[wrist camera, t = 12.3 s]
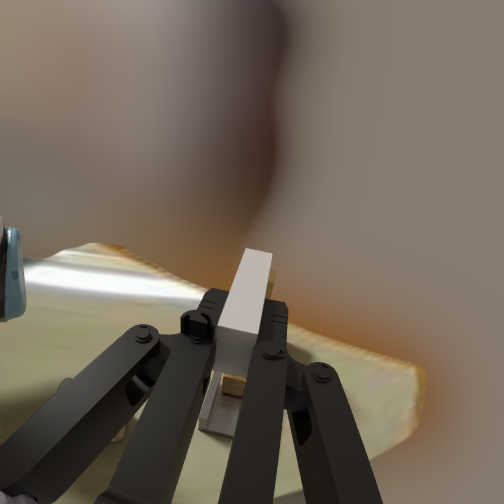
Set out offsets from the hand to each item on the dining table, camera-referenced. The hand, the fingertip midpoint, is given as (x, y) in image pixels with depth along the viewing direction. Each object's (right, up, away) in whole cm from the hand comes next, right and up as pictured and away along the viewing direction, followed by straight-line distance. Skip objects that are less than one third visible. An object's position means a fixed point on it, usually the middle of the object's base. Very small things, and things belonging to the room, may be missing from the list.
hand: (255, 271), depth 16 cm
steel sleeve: (-3, -21, +18) cm, 28 cm away
